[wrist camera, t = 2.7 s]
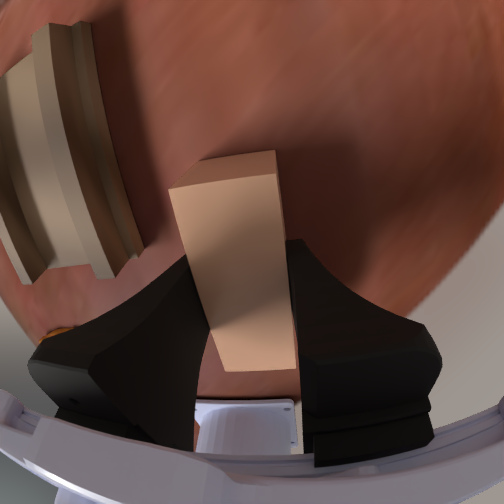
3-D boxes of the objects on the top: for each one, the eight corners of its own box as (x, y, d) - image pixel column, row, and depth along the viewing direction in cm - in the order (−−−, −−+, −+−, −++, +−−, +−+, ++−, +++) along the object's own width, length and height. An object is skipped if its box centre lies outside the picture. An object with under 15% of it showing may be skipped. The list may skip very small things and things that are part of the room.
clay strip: (293, 312, 14) (296, 368, 11) (234, 317, 15) (225, 371, 12) (275, 149, 10) (275, 173, 7) (197, 161, 11) (168, 189, 8)
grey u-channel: (144, 249, 13) (124, 277, 11) (39, 263, 14) (18, 284, 12) (90, 23, 8) (58, 16, 6) (-11, 94, 9) (-40, 102, 7)
